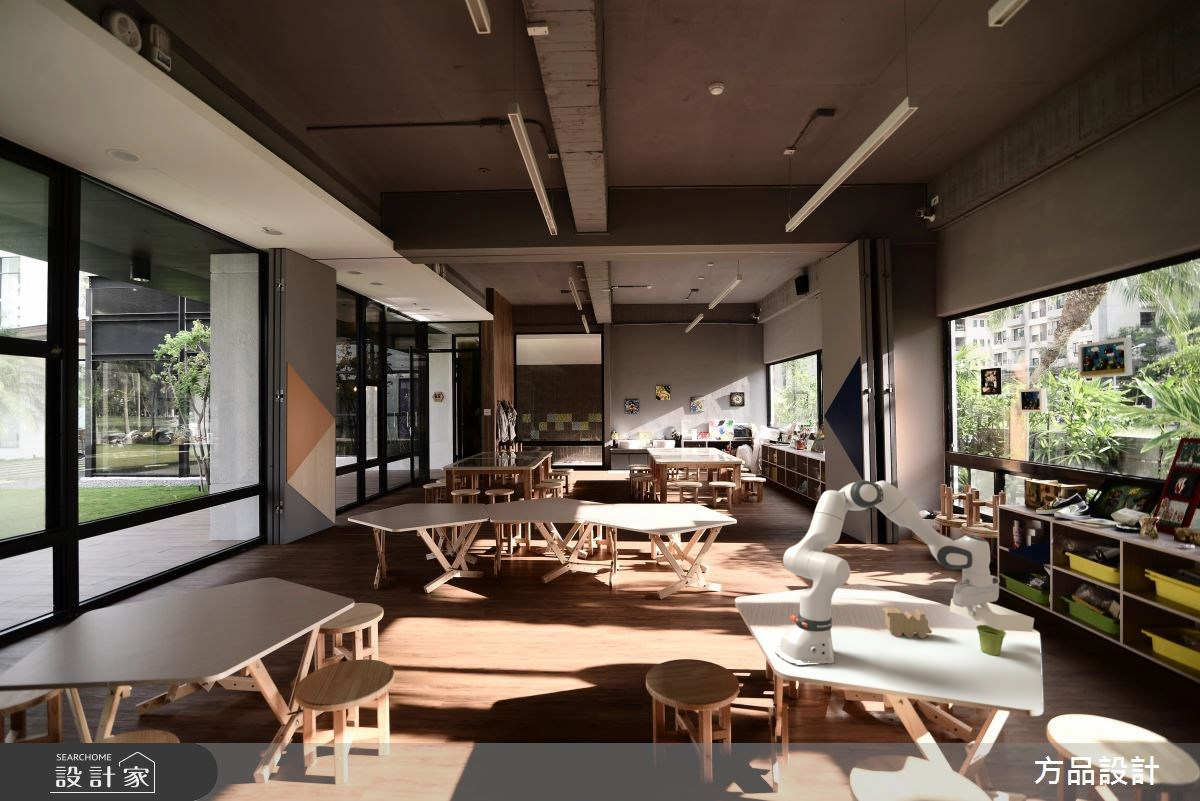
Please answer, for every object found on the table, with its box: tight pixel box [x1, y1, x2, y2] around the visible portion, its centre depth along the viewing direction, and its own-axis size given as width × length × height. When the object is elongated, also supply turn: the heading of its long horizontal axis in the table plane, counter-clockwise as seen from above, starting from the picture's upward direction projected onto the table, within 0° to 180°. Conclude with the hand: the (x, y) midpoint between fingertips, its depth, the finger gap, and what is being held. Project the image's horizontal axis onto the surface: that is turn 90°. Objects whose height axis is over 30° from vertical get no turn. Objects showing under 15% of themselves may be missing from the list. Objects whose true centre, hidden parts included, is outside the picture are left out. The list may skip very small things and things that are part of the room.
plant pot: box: [976, 624, 1007, 656], centre depth 219 cm, size 9×9×9 cm
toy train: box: [882, 606, 933, 639], centre depth 235 cm, size 6×17×10 cm, turn 81°
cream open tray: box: [949, 597, 1035, 633], centre depth 219 cm, size 19×19×5 cm
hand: (975, 614), depth 216 cm, fingers closed on cream open tray, 2 cm apart
